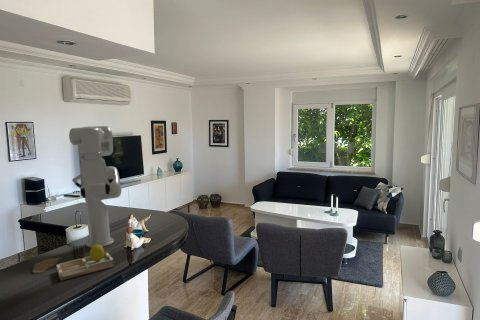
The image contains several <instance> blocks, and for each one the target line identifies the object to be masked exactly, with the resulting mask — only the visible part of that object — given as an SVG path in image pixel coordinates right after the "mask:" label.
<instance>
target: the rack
mask: <svg viewBox="0 0 480 320" xmlns="http://www.w3.org/2000/svg"><path fill="white" fill-rule="evenodd" d="M114 260H115V259H114V258H113V257H112V255H111V254H109V252H108V251H104V257H103V259H102V260H100V261H99V262H96V261H93V260H92V259H91V257H90V255H89V256H86V257H82V258H77V259H73V260H69V261H64V262H59V263H57V264H56V265H55V266H56V273H57V275H58V278H59V279H60V281H65V280H68V279H72V278H76V277H80V276H84V275H88V274H90V273H91V274H92V273H94V272H98V271H102V270H106V269H110V268H113V267H115V261H114Z"/></svg>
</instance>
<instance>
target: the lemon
mask: <svg viewBox="0 0 480 320" xmlns="http://www.w3.org/2000/svg"><path fill="white" fill-rule="evenodd" d="M104 253H105V249H104V247H102V246H101V245H98V244H95V245H94V246H93V247H92V248H90V250H89V256H90V257H91V259H92V260H93V261H96V262H99V261H100V260H102V259H103V257H104Z"/></svg>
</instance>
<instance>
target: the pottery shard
mask: <svg viewBox="0 0 480 320" xmlns="http://www.w3.org/2000/svg"><path fill="white" fill-rule="evenodd" d="M63 259H64V257H49V258H47V259H43V260H42V261H39V262H36V263H35V264H34V265H32V268H33V269H32V270H31V271H32V274H42V273H45V272H46V271H47V270H49V269H51V268H53V267H54V266H56V264H59V263H60V262H61V261H62V260H63Z"/></svg>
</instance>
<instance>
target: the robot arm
mask: <svg viewBox="0 0 480 320" xmlns="http://www.w3.org/2000/svg"><path fill="white" fill-rule="evenodd" d="M68 133H69V134H68V139H69V141H70V144H71V145H73V146H78V147H77V153H78V158H79V160H80V174H78V175H77V176H75V177H74V178H72V179H71V181H72V182H73V183H74V185H75V186H76V187H78V188H79V189H80V191H79V192H80V196H81V197H82V198H84V201H85V205H86V206H85V207H86V215H87V227H88V228H87V229H88V234H89V236H88V237H89V240H88V241H87V243H86V247H88V248H90V249H91V248H92V247H93V246H94V245H95V244H98V245H101V246H102V247H103V248H104V247H107V246H109V245H112V244H113V243H114V241H115V239H114V238H113V237H111V234H110V233H111V230H110V220H109V209H108V206H107V205H106V204H105V203H104V202H103V201H104V200H111V199H117V198H120V196H121V194H122V185H121V184H122V183H121V179H120V174H119V171H118V169H117V167H115V166H108V165H107V164H106V161H105V159H104V158H103V157H104V156H105V157H107V156H111V155H112V154H113V152H114V142H113V138H114V137H113V132H112V130H111V128H110V126H108V125H107V126H106V125H101V126H99V125H96V126H83V127H73V128H71V129H70V130H69V132H68ZM78 180H80V181H81V183H79V182H78Z"/></svg>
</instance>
